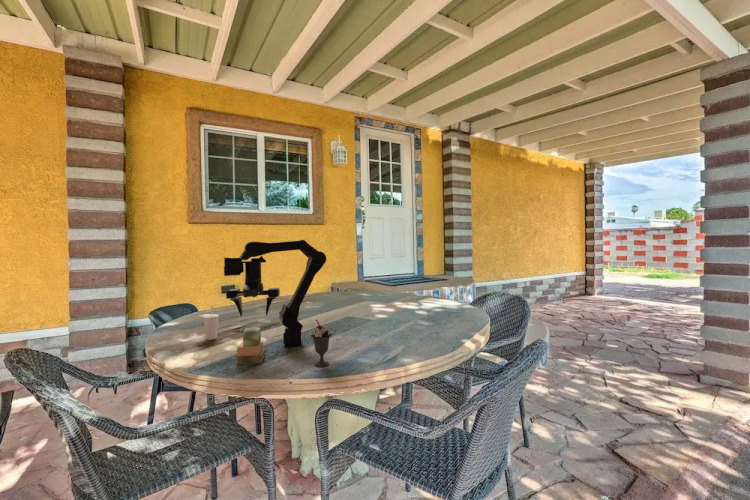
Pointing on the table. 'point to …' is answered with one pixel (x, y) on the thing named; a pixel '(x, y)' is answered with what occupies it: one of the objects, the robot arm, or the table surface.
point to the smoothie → (211, 325)
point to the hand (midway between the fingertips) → (254, 315)
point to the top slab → (249, 350)
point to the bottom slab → (251, 358)
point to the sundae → (321, 344)
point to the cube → (251, 336)
